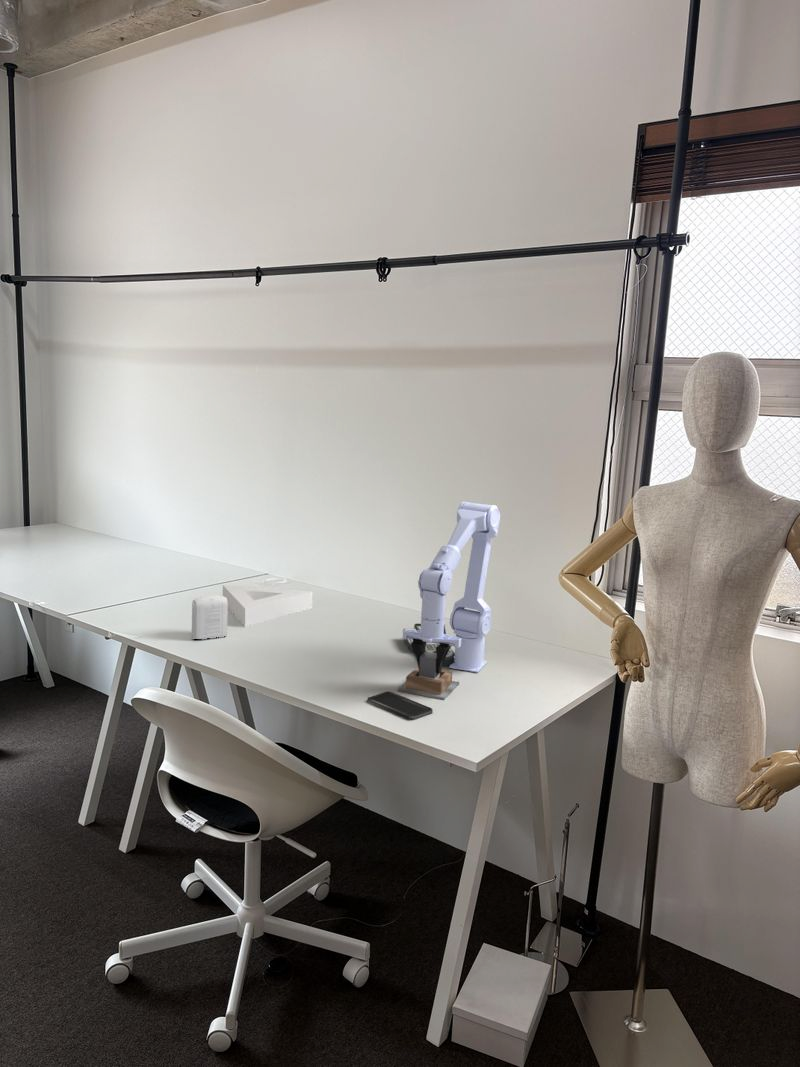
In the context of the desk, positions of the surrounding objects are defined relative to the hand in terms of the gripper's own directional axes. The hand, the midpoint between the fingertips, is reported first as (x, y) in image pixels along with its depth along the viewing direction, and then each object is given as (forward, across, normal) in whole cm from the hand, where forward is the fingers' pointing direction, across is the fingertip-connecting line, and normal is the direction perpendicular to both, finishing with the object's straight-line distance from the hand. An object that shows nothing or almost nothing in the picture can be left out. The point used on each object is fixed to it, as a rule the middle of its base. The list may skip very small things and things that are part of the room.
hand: (429, 670), depth 208 cm
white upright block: (+5, -69, +8) cm, 70 cm away
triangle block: (+5, -69, +34) cm, 77 cm away
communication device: (+5, -9, +26) cm, 28 cm away
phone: (+5, -2, -15) cm, 16 cm away
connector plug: (+3, 0, 0) cm, 3 cm away
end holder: (+4, 0, 0) cm, 4 cm away
